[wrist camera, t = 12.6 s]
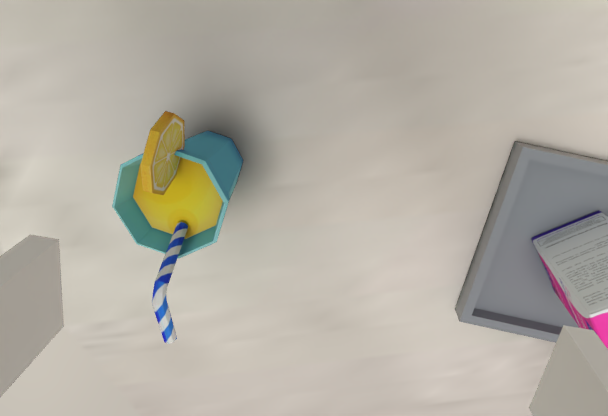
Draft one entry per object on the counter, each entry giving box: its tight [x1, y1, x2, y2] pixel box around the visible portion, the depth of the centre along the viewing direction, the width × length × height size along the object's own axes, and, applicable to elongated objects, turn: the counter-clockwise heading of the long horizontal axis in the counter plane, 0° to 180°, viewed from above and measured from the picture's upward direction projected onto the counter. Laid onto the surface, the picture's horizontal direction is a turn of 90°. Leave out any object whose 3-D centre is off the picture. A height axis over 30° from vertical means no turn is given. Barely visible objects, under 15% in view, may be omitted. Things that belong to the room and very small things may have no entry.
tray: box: [455, 141, 608, 342], centre depth 41 cm, size 16×16×2 cm
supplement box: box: [531, 210, 608, 349], centre depth 36 cm, size 6×6×12 cm
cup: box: [112, 111, 243, 344], centre depth 35 cm, size 14×8×15 cm, turn 4°
